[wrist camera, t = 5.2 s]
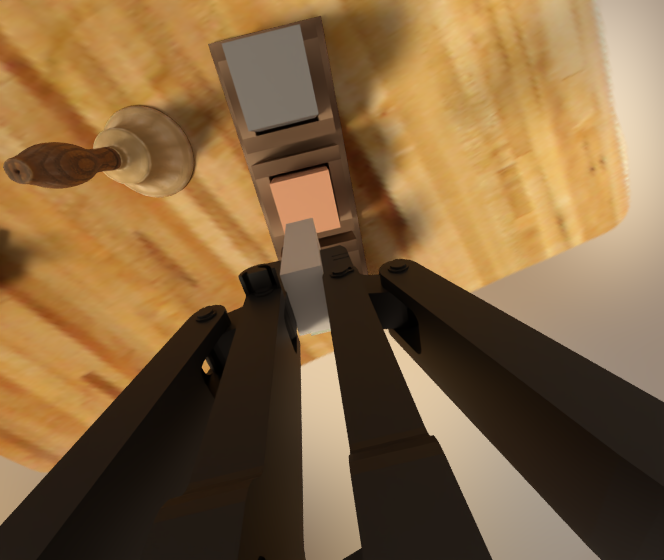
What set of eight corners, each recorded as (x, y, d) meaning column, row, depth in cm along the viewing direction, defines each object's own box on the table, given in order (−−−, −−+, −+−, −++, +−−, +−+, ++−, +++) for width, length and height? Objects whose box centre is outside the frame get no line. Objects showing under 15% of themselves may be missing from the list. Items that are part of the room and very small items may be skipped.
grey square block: (239, 63, 24) (221, 43, 19) (299, 48, 24) (299, 24, 19) (259, 131, 26) (248, 131, 21) (314, 117, 26) (318, 114, 21)
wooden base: (210, 46, 27) (193, 30, 23) (320, 18, 27) (323, -3, 22) (295, 308, 39) (294, 329, 35) (370, 290, 39) (378, 309, 35)
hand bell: (136, 84, 27) (-43, 30, 13) (211, 157, 31) (133, 178, 16) (86, 150, 29) (-119, 167, 15) (161, 213, 32) (51, 276, 18)
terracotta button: (274, 175, 30) (269, 184, 25) (323, 163, 30) (328, 169, 25) (288, 222, 33) (286, 240, 27) (333, 211, 32) (340, 227, 27)
